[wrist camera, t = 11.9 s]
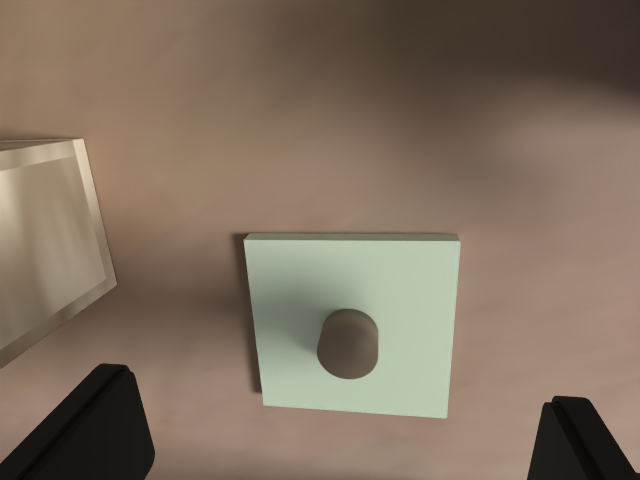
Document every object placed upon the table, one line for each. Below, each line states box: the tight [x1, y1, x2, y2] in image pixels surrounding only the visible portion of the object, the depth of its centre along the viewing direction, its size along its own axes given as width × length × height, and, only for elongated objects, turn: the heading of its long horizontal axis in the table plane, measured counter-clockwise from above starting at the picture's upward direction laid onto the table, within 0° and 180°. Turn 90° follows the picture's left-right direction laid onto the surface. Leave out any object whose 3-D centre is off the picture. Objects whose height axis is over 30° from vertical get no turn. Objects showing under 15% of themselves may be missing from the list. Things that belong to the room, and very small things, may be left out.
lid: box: [244, 233, 460, 418], centre depth 14 cm, size 7×7×2 cm
